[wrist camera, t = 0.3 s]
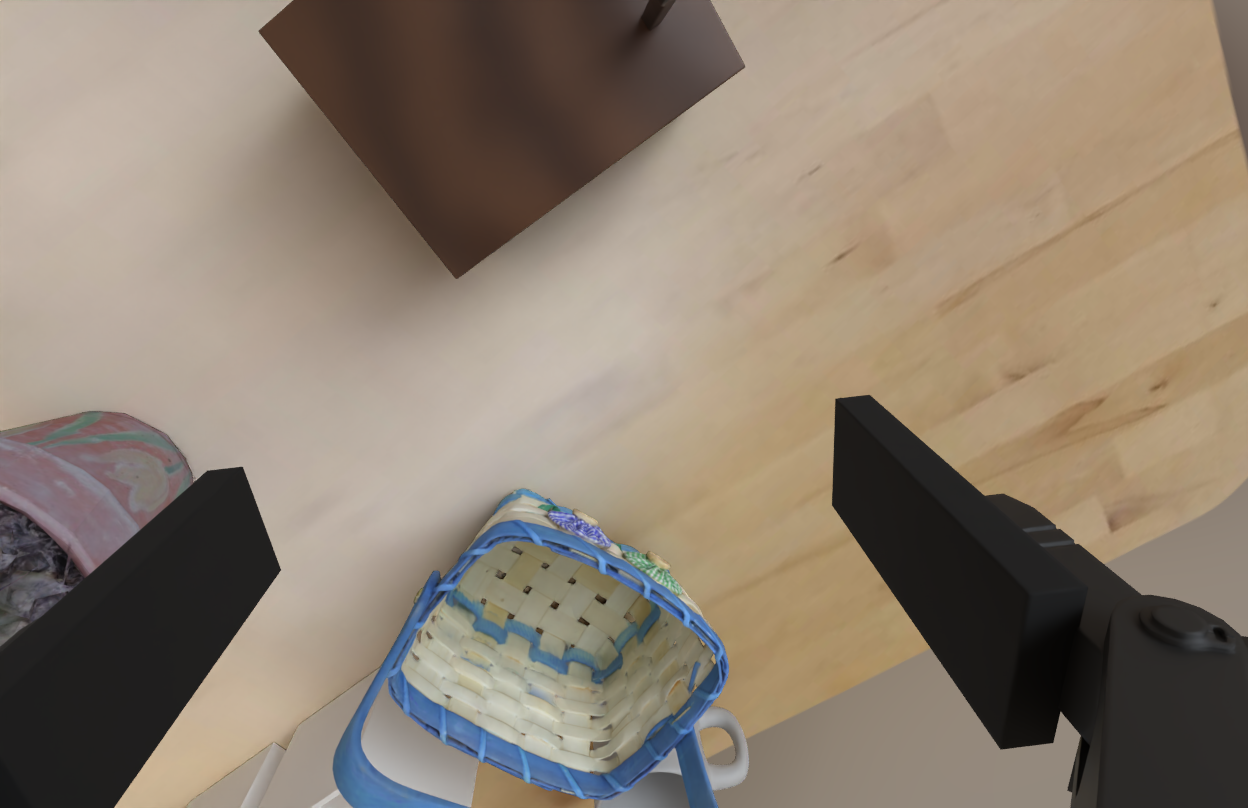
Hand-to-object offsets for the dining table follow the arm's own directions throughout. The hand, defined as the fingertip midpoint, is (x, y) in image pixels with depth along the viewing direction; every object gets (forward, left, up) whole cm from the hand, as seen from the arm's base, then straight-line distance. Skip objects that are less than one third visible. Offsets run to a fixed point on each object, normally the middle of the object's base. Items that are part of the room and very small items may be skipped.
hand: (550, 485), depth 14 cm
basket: (+18, -14, -29) cm, 37 cm away
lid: (-10, +4, -20) cm, 23 cm away
